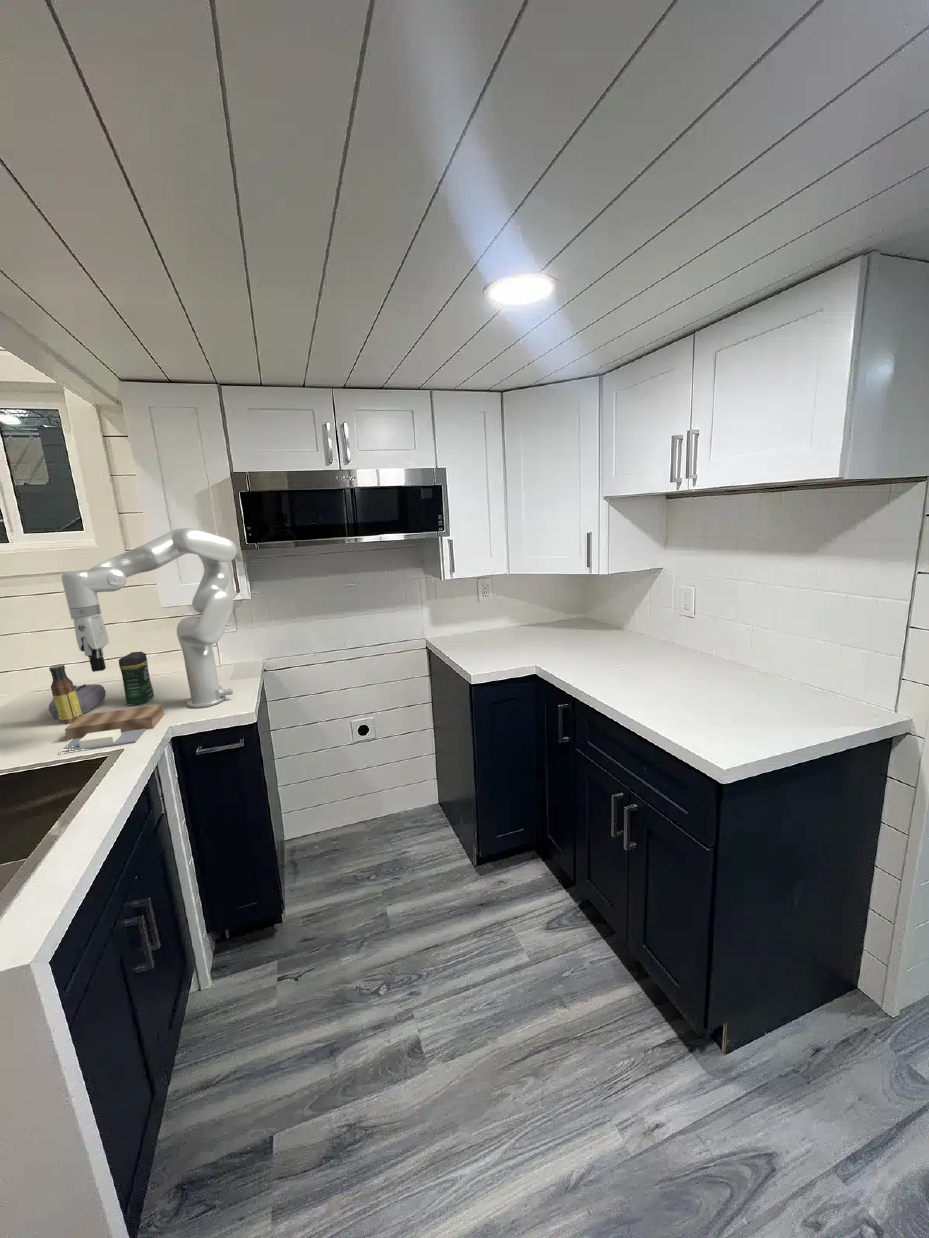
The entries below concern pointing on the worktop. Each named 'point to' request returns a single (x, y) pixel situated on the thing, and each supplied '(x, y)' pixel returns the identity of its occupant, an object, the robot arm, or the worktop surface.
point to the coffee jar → (136, 678)
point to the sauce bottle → (64, 695)
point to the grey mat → (125, 738)
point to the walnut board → (115, 721)
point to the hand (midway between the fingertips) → (99, 670)
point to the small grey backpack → (84, 698)
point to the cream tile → (100, 738)
